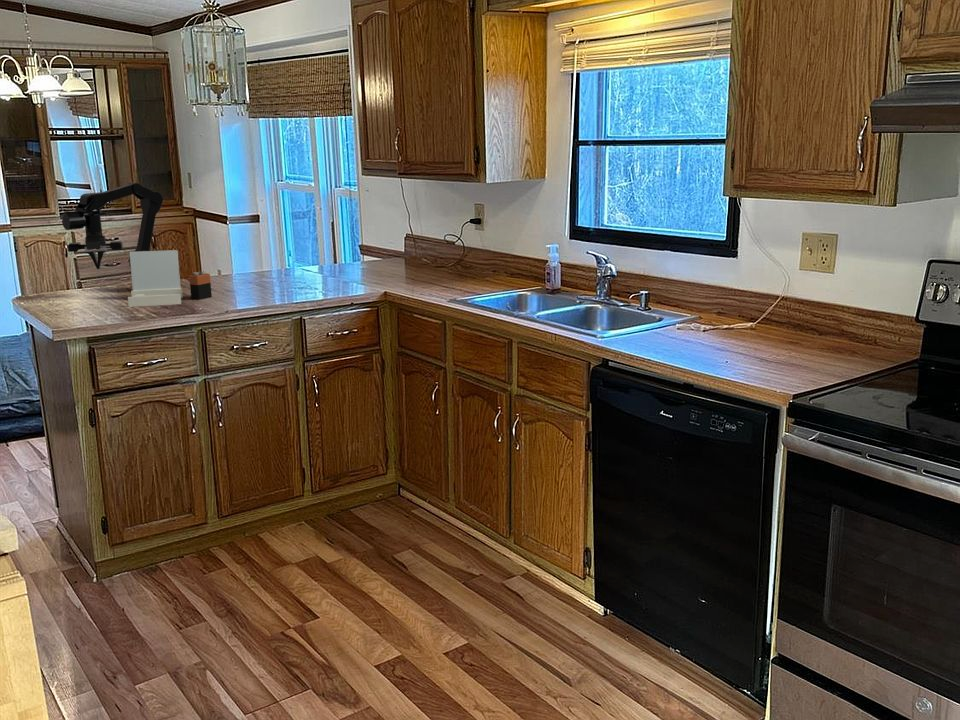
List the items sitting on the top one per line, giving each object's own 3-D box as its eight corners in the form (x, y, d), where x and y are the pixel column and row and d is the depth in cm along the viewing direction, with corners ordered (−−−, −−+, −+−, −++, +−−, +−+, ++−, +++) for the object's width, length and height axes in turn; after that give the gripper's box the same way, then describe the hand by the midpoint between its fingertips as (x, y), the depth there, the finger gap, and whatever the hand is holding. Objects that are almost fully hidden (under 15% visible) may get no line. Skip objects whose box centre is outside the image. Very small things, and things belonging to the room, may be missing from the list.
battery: (190, 299, 327) (188, 272, 324) (204, 296, 332) (202, 270, 330) (198, 300, 324) (196, 273, 322) (212, 297, 330) (210, 271, 328)
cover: (132, 290, 324) (133, 290, 325) (180, 288, 329) (180, 288, 330) (129, 251, 323) (129, 251, 324) (177, 250, 328) (177, 250, 329)
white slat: (132, 299, 325) (131, 290, 324) (182, 297, 330) (181, 288, 329) (128, 306, 312) (127, 297, 311) (181, 304, 317) (180, 294, 316)
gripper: (62, 230, 313) (68, 273, 317) (118, 229, 319) (122, 270, 323) (67, 227, 324) (72, 269, 328) (120, 226, 329) (125, 266, 333)
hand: (98, 269), depth 327 cm, fingers closed
